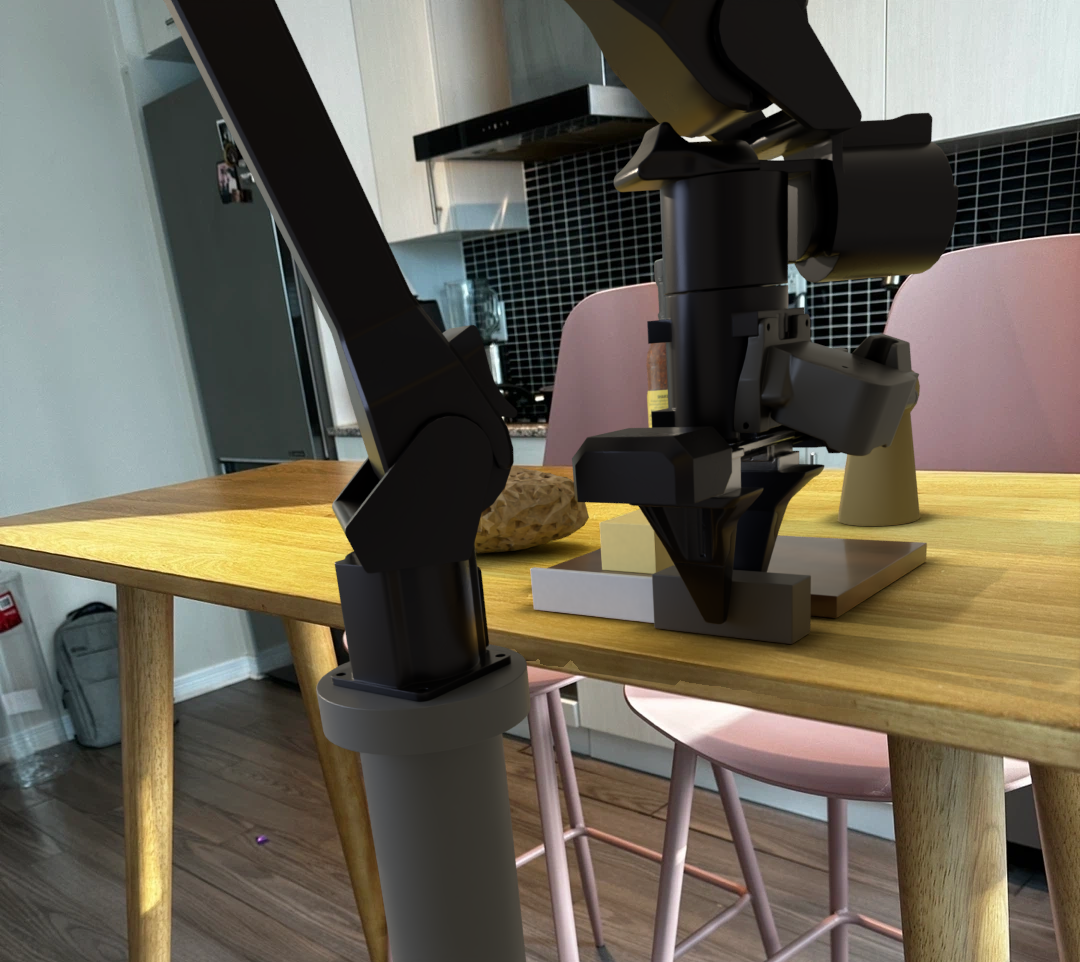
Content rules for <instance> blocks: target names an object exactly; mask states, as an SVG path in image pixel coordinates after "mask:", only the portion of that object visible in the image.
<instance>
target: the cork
mask: <svg viewBox="0 0 1080 962" xmlns="http://www.w3.org/2000/svg"><path fill="white" fill-rule="evenodd" d="M912 372H915V371H914V370H913V369H912ZM915 389H916V391H917V392H918V399H920V398H919V397H920V391H921V385H920V380H919V378H918V379H917V382H916V386H915ZM917 404H918V402H917V403H916V404H915V405H914V406H913V407H911V408H907V409H905V410H904V413H903V415H902V418H901V421H900V423H899V426H898V428H897V431H896V434H895V436H894V439H893V441H892V444H891V446H889V447H887V448H884V447H882V446H880V447H877V448H874V449H873V450H872V451H871V452H870V454H868V455H865V456H853V455H848V454H846V461H845V465H844V467H845V468H844V473H843V479H842V487H841V493H840V500H839V507H838V514H837V522H839V524H843V525H847V526H848V525H849V526H857V527H887V526H896V525H897V526H898V525H905V524H909V523H913V522H916V521H919V520H920V519H921V514H920V504H919V493H918V482H917V471H916V470H917V469H916V458H915V448H914V437H913V425H912V415H911V413H912V411H913V410H914V409H915V407H916V405H917Z"/></svg>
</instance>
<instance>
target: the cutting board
mask: <svg viewBox="0 0 1080 962" xmlns="http://www.w3.org/2000/svg"><path fill="white" fill-rule="evenodd" d="M927 549H928V543H927V542H923V541H922V542H921V541H920V542H919V541H903V540H881V539H862V538H861V539H860V538H858V539H857V538H841V537H839V538H838V537H835V538H834V537H821V536H820V537H819V536H801V535H799V536H798V535H797V536H796V535H779V534H778V536H777V539H776V542H775V546H774V549H773V553H772V556H771V560H770V563H769V567H768V570H767V572H771V573H784V574H798V575H810V576H811V617H819V618H830V619H838V618H839V617H841V616H842V615H844V614H846V613H847V612H849V611H850V610H852V609H854V608H855V607H857V606H858V605H860V604H861V603H863V602H864V601H866V600H867V599H869V598H870V597H872V596H874V595H875V594H877V593H879V592H880V591H882V590H883V589H885V588H887V587H888V586H889V585H892V583H895V582H896V581H898V580H899V579H901V578H902V577H903V576H905V575H908V573H910V572H912V571H914V570H915V569H917V568H918V567H920V566H922V565H923V564H924V563H926V562H927V551H928V550H927ZM547 568H549V569H561V570H573V571H586V572H598V573H610V574H622V575H634V576H647V577H652V574H648V573H635V572H623V571H610V570H602V557H601V548H598V549H595V550H593V551H590V552H587V553H584V554H582V555H579V556H576V557H574V558H571V559H570V558H569V559H568V560H565V561H562V562H560V563H557V564H554V565H552V566H548V567H547Z"/></svg>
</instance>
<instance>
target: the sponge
mask: <svg viewBox="0 0 1080 962" xmlns="http://www.w3.org/2000/svg"><path fill="white" fill-rule="evenodd" d="M589 519H590V515H589V512H588V507H587V505H586V502H577V501H576V500H575V494H574V480H572V478H569V477H567V476H561V475H556V474H553V473H552V472H545V471H540V470H537V469H528V468H524V467H519V466H514V465H513V466H512V467H511V471H510V474H509V477H508V480H507V483H506V486H505V488H504V490H503V491H502V492H501V494H500V495H499V497H498V498H497V499H496V501H495V502H494V503H493V505H491V506H490V507H489V508H487V509H486V510H485V511H483V512H482V514H481V518H480V522H479V526H478V530H477V534H476V539H475V550H476V554H487V553H488V554H489V553H504V552H510V551H511V552H513V551H520V550H526V549H530V548H534V547H538V546H541V545H545V544H548V543H551V542H553V541H558V540H562V539H565V538H568V537H569V536H571V535H573V534H574V533H575V532H577V531H579V530H581V528H583V527H584V526H585V525H586V524H587V521H588V520H589Z"/></svg>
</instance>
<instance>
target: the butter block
mask: <svg viewBox="0 0 1080 962" xmlns="http://www.w3.org/2000/svg"><path fill="white" fill-rule="evenodd" d="M598 526H599V540H600V549H601V557H602V570H610V571H623V572H635V573H648V574H654V573H656V572H659V571H661V570H663V569H666V568H668V567H671V566H673V565H674V563H673V562H672V560H671V558H670V556H669V554H668V552H667V551H666V549H665V547H664V546H663V544H662V542H661V541H660V539H659V538H658V536H657V535H656V533H655V532H654V530H653V528H652V527H651V525H650V524H649V522H648V521H647V519H646V517H645V516H644V514H643V513H642V511H641V510H640V508H639V509H636V510H632V511H630V512H629V511H628V512H627V513H624V514H621V515H617V516H615V517H612V518H609V519H605V520H602V521H599V524H598Z"/></svg>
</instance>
